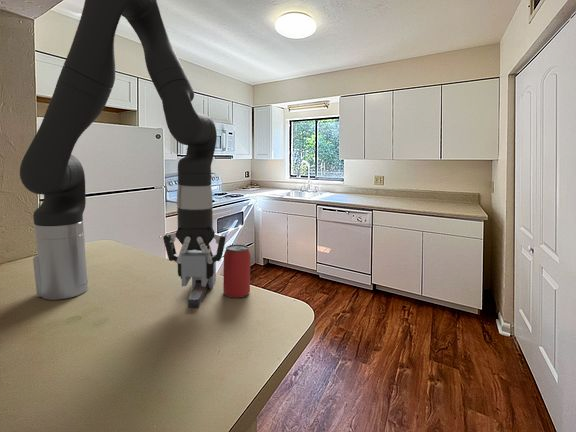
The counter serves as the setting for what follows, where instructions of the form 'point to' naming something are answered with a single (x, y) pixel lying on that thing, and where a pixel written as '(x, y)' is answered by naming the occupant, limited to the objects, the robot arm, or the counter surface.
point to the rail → (197, 295)
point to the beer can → (236, 271)
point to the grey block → (194, 266)
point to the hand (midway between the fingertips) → (196, 277)
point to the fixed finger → (211, 280)
